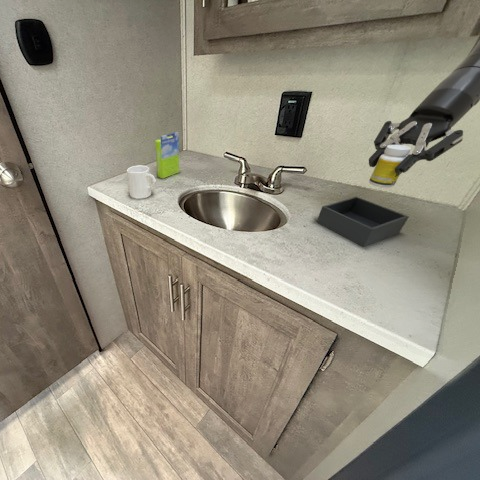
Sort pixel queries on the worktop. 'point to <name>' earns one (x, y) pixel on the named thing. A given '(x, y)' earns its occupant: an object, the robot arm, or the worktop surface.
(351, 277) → the worktop surface
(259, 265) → the worktop surface
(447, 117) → the robot arm
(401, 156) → the supplement bottle
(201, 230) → the worktop surface
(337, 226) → the bin
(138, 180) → the mug
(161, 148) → the box
